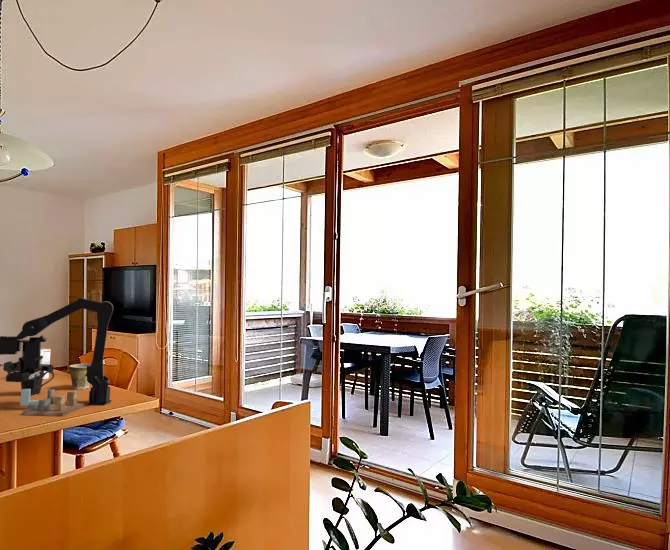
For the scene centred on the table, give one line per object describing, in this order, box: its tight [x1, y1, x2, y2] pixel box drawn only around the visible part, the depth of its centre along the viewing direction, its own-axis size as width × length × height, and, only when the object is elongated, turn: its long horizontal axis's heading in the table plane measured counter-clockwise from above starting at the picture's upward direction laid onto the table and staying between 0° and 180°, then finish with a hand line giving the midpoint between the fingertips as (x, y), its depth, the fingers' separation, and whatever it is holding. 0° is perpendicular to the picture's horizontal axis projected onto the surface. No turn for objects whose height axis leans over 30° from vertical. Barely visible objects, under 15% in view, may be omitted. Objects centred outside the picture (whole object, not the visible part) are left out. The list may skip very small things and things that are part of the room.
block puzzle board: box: [22, 388, 85, 417], centre depth 171 cm, size 14×14×6 cm
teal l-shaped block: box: [19, 389, 40, 406], centre depth 173 cm, size 7×2×6 cm, turn 112°
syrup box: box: [40, 348, 51, 380], centre depth 227 cm, size 6×6×14 cm
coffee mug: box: [20, 371, 55, 396], centre depth 196 cm, size 12×9×10 cm
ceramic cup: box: [68, 363, 91, 390], centre depth 211 cm, size 13×10×10 cm
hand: (29, 395), depth 176 cm, fingers closed
